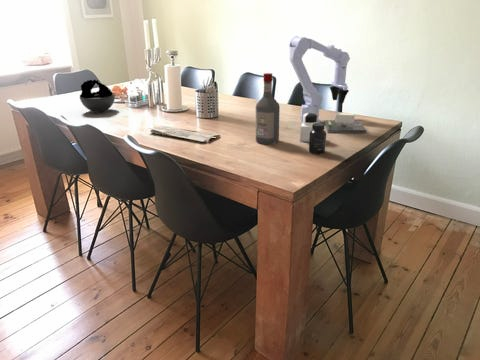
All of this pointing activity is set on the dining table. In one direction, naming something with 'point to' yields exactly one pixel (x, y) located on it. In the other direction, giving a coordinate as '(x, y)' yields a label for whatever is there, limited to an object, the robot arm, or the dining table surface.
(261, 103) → the liquor
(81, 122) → the dining table surface
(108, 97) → the coal bowl
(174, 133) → the newspaper
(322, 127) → the supplement bottle
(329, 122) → the base
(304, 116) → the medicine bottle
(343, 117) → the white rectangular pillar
